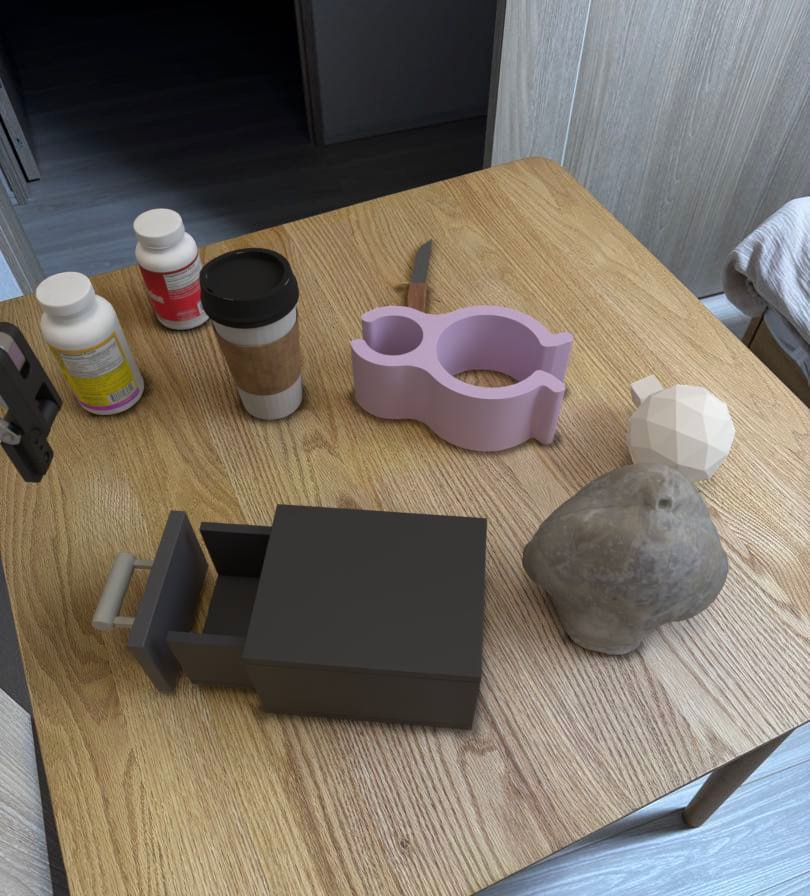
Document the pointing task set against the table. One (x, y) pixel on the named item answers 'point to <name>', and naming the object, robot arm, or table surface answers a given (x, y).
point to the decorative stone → (628, 557)
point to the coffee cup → (256, 327)
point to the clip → (454, 351)
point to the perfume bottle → (679, 428)
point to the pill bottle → (170, 268)
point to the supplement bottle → (89, 344)
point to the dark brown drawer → (190, 603)
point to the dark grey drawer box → (370, 616)
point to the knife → (419, 279)
